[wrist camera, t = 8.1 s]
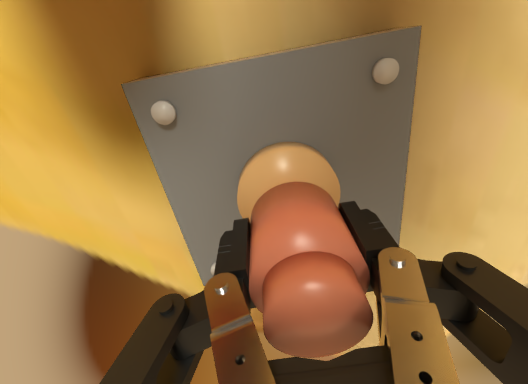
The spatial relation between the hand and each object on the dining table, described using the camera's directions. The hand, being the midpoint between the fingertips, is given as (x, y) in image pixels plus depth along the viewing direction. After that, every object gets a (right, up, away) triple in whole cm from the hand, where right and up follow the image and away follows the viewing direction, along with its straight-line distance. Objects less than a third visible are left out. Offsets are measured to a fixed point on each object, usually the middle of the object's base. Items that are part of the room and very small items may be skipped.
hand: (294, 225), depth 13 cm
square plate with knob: (0, +3, +5) cm, 6 cm away
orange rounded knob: (0, 0, +1) cm, 1 cm away
